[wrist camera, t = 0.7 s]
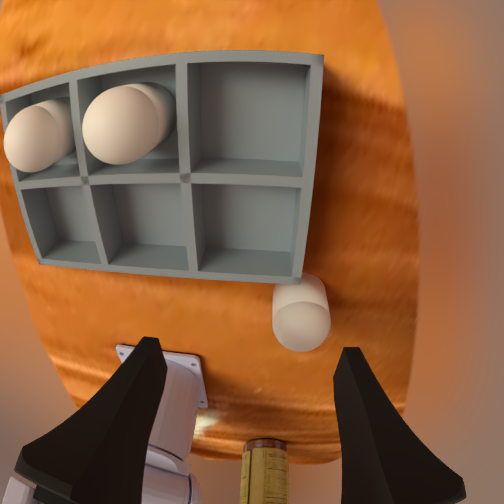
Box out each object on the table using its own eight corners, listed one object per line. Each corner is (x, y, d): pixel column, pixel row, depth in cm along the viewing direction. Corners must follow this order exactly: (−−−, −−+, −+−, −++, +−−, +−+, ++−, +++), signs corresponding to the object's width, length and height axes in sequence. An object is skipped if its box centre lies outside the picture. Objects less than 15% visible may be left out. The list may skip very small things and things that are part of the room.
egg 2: (178, 145, 15) (146, 175, 11) (118, 148, 15) (73, 178, 11) (176, 78, 13) (139, 84, 9) (112, 86, 13) (62, 98, 9)
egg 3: (320, 312, 22) (327, 363, 18) (271, 310, 22) (269, 362, 18) (329, 273, 20) (340, 324, 16) (274, 270, 20) (274, 322, 16)
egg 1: (90, 150, 15) (43, 181, 12) (46, 156, 15) (-1, 185, 12) (84, 91, 13) (31, 106, 10) (39, 102, 13) (-13, 121, 10)
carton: (297, 253, 19) (300, 284, 17) (60, 240, 20) (39, 264, 17) (314, 57, 13) (324, 55, 10) (30, 87, 13) (-1, 95, 11)
